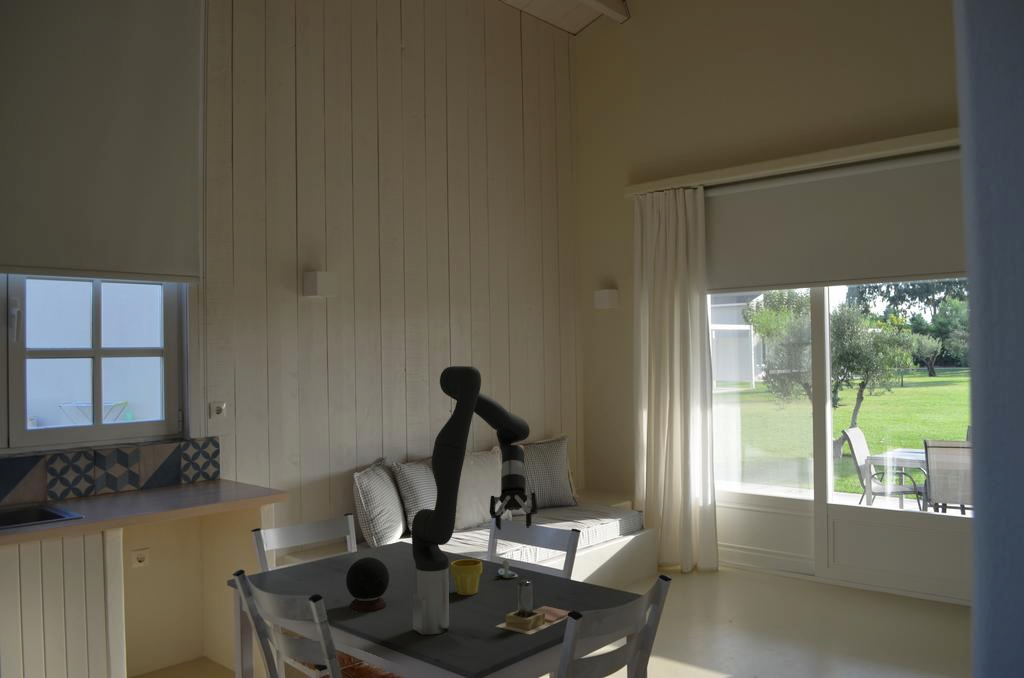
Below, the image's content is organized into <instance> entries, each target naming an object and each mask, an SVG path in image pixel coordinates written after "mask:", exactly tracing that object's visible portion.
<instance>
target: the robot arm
mask: <svg viewBox="0 0 1024 678" xmlns="http://www.w3.org/2000/svg"><path fill="white" fill-rule="evenodd" d="M439 386H440V389H441V390H442V392H443V393H444V394H445V395H446V396H448V397H449V398H451V399H453V400H454V401H456V404H455V406H454V410H453V412H452V414H451V416H450V417H449V419H448V420H447V421H446V423H445V424H444V426H442V427H441V430H440V431H439V432H438V434H437V435H436V438H435V441H434V445H433V450H432V455H431V469H432V474H433V477H434V482H435V486H436V499H435V500H436V501H435V505H434V509H430V508H422V509H420V510H418V511H417V512H416V514H415V515H414V517H413V519H412V523H411V543H412V545H411V546H412V548H411V549H412V558H413V560H414V562H415V594H413V597H412V611H413V612H412V613H413V614H412V616H413V617H412V625H413V626H412V628H413V630H414V631H416V632H417V633H419V634H421V636H424V635H425V636H426V635H438V634H443V633H445V632H448V631H449V629H447V628H448V627H449V626H450V600H449V598H450V596H449V593H450V590H449V589H450V588H449V586H450V585H449V582H450V581H449V579H450V577H449V575H450V574H449V568H450V567H449V566H450V564H449V563H450V562H449V558H448V556H447V554H446V553H444V552H443V551H442V549H441V548H440V546H443V545H446V544H447V543H449V542H450V540H451V539H452V536H453V535H454V531H455V526H456V517H457V506H458V496H459V488H460V482H461V477H462V473H463V472H462V470H463V466H464V461H465V457H466V452H467V451H466V450H467V444H468V440H469V439H468V438H469V435H470V430H471V424H472V421H473V416H474V413H475V414H476V415H477V416H479V417H480V418H481V419H482V420H483V421H484V422H485V423H486V424H488V425H489V427H491V428H492V429H493V430H495V431H496V433H495V434H496V437H497V440H498V441H497V442H498V443H499V447H500V452H501V469H500V471H501V472H500V496H494V495H491V496H490V498H489V500H490V504H489V515H490V517H491V518H495V526H496V528H497V529H498V531H502V516H503V515H505V514H506V512H507V511H515V510H516V511H519V510H520V509H521V510H522V511H523V512H524V513H525V526H526V528H527V529H530V526H532V516H533V515H537V514H538V503H537V495H536V493H535V492H531V493H530V494H527V491H526V490H527V488H526V479H527V475H526V469H525V451H524V448H523V447H521V446H520V445H516V443H518V442H522V441H525V440H527V438H529V436H530V433H531V430H530V427H529V426H530V425H529V424H528V423H527V421H526V420H525V419H524V418H522V417H520V416H519V415H517V414H515V413H512V412H510V411H508V410H507V409H506V408H504V406H502V404H501V403H500V402H498V401H497V400H495V398H494V399H493V398H491V397H490V396H488V395H486V394H484V393H482V392H480V391H481V387H482V375H481V372H480V370H479V368H476V367H475V366H468V365H467V366H464V365H463V366H461V365H453V366H447V367H445V368H444V369H443V371H442V372H441V373H440V375H439ZM527 500H529V501H530V503H531V508H529V506H527V504H526V502H527ZM499 502H500V503H501V504H499V505H500V506H499V508H498V509H497V510H496V506H497V505H498V503H499Z"/></svg>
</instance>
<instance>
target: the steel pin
mask: <svg viewBox="0 0 1024 678" xmlns="http://www.w3.org/2000/svg"><path fill="white" fill-rule="evenodd" d="M517 610H518V616H520V617H525V618H529V617H531V616H533V581H532V580H530V579H519V580H518V581H517Z"/></svg>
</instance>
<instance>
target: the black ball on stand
mask: <svg viewBox="0 0 1024 678" xmlns="http://www.w3.org/2000/svg"><path fill="white" fill-rule="evenodd" d="M345 576H346V579H345V583H346V588H347V591H348V592H349V594H350V595H351V596H352V597H353V598H354V599H353V600H352V601H351V602H350V603H349V607H348V608H350V609H351V610H350V609H349V610H350V611H352V610H353V611H352V612H355V611H357V612H356V613H373V611H374V612H378V611H381V610H384V609H386V607H387V602H386V601H385V599H383V598H382V596H384V594H385V593H386V591H387V589H388V587H389V584H390V573H389V569H388V568H387V565H385V564H384V562H382V561H381V560H379V558H378V559H377V558H376V557H369V556H368V557H363V558H362V557H361V558H359V559H358V560H356V561H354V563H352V565H350V567H349V569H348V570H347V573H346V575H345Z"/></svg>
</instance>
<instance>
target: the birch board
mask: <svg viewBox="0 0 1024 678" xmlns="http://www.w3.org/2000/svg"><path fill="white" fill-rule="evenodd" d="M569 612H571V610H565V609H559V608H555V607H552V606H546V605H543V606H541V607H538V608H536V609H534V610H533V616H531V617H529V618H525V617H520V616H518V609H517V610H515V611H512V612H509V613H508V614H505V622H503V623H499V624H498V625H495V627H496V628H500V629H504V630H508V631H513V632H516V633H517V632H518V633H521V634H525V635H533V634H535V633H537V632H540V631H542V630H544V629H546V628H548V627H551V626H553V625H555V624H557V623H560V622H562V621H564V620H567V619H568V618H567V617H568V613H569Z"/></svg>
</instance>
